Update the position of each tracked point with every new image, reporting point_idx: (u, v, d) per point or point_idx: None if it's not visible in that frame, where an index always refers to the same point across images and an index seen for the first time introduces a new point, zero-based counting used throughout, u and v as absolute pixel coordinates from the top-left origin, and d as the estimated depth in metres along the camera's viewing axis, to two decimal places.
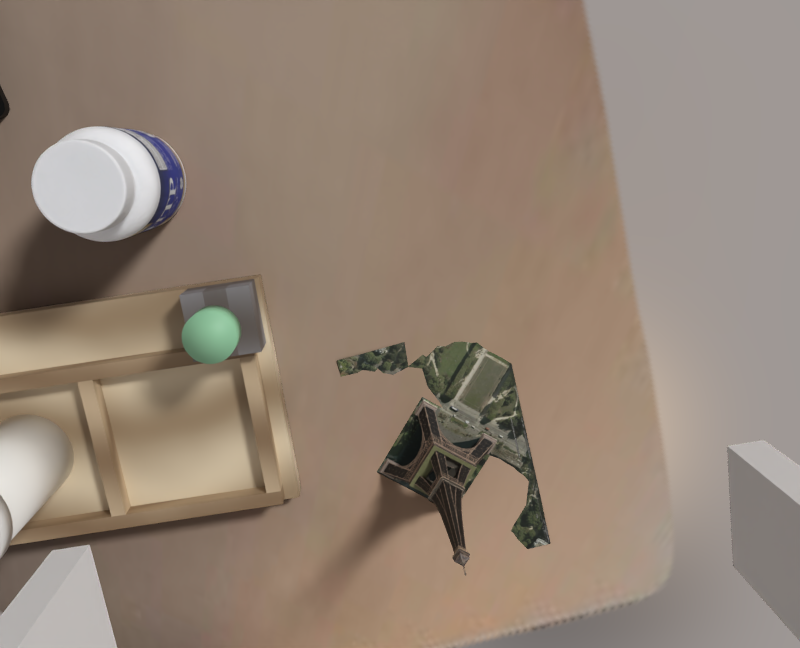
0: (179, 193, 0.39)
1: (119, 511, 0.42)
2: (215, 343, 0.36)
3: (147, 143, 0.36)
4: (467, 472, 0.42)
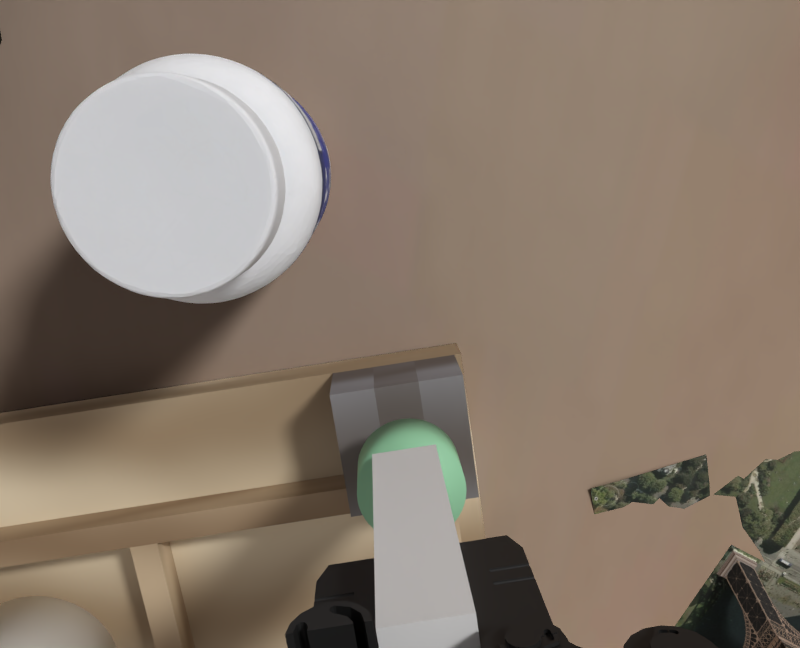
0: (327, 198, 0.20)
1: None
2: None
3: None
4: None
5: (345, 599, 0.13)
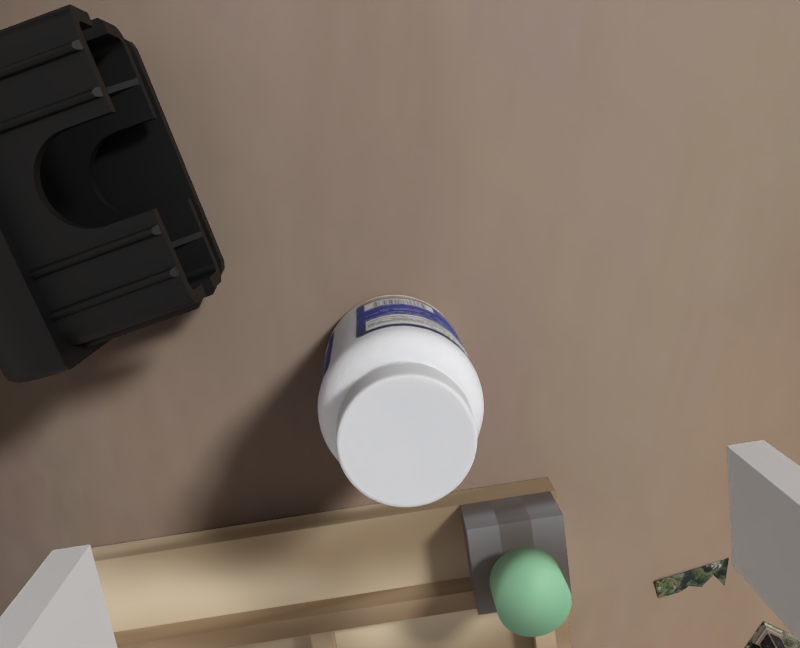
0: None
1: None
2: (542, 610, 0.26)
3: (454, 339, 0.25)
4: None
5: None
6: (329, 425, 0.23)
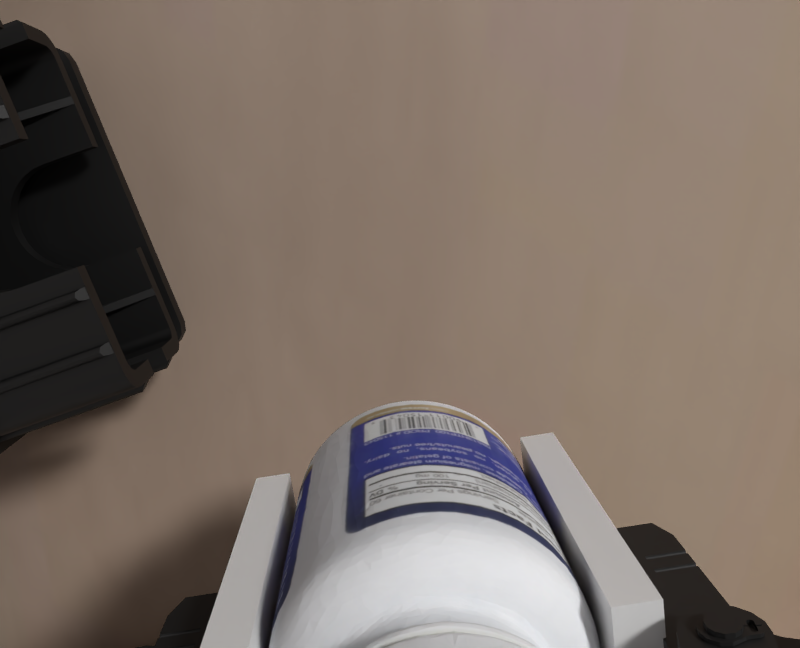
0: None
1: None
2: None
3: (537, 518, 0.13)
4: None
5: (189, 635, 0.13)
6: None
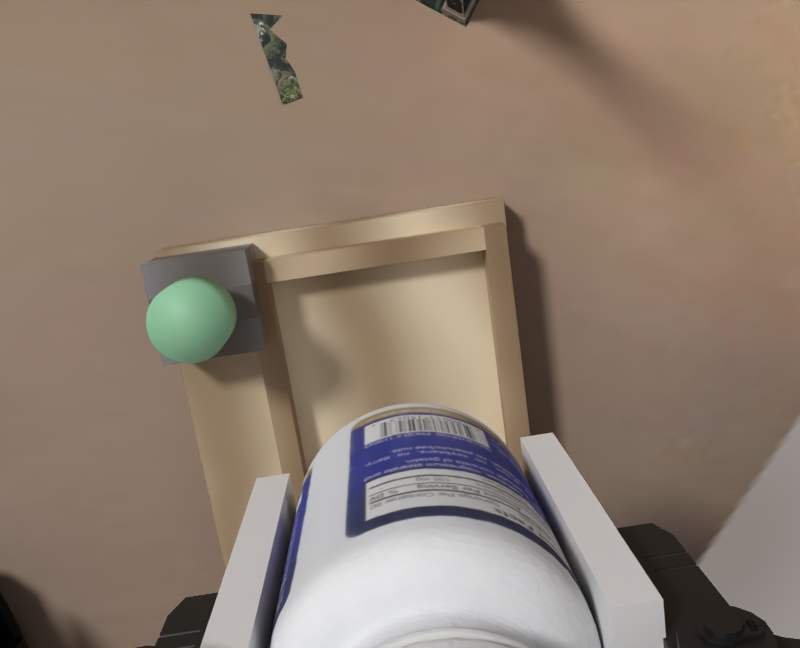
0: None
1: None
2: (195, 314, 0.24)
3: (538, 522, 0.13)
4: None
5: (189, 636, 0.13)
6: None
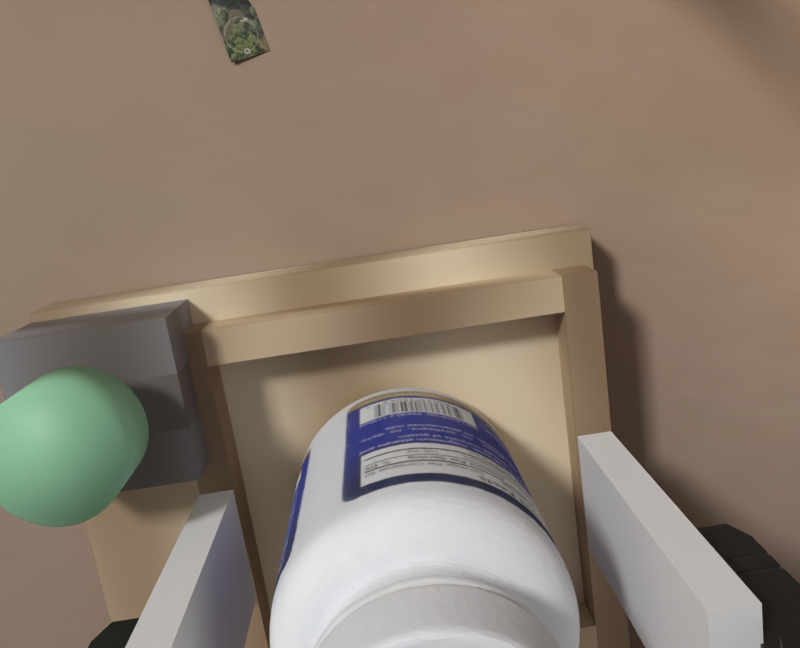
0: None
1: (587, 637, 0.19)
2: (65, 443, 0.13)
3: (520, 491, 0.14)
4: None
5: None
6: None
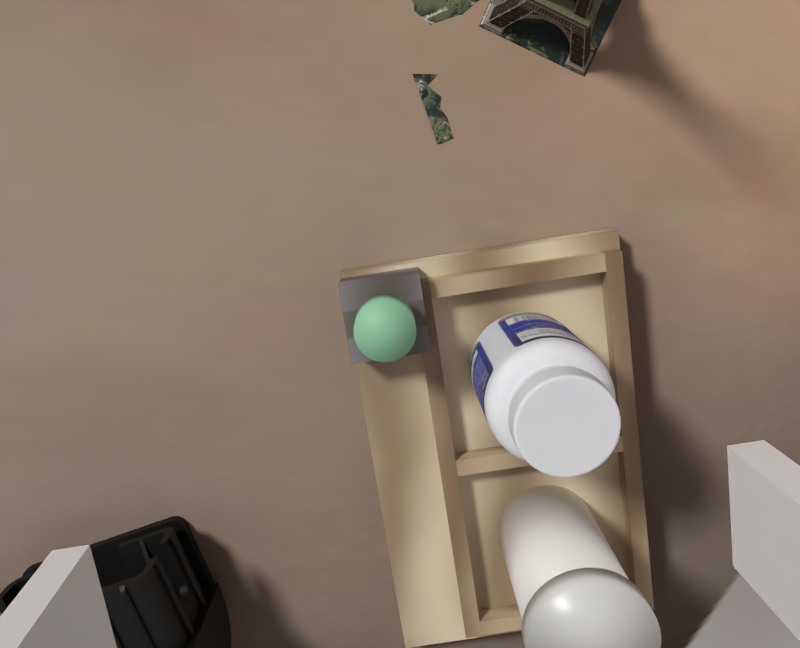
0: None
1: (617, 442, 0.36)
2: (391, 324, 0.31)
3: None
4: None
5: None
6: (496, 415, 0.30)
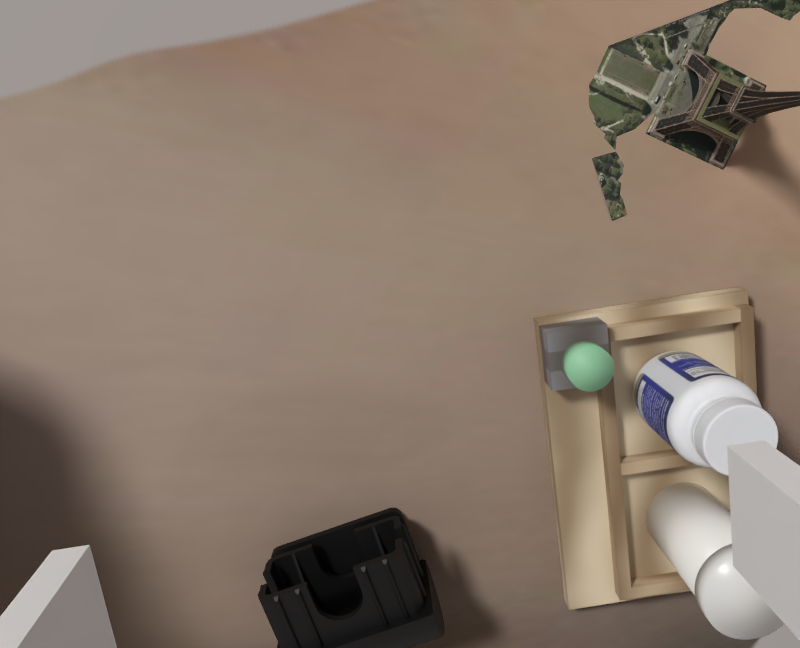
0: None
1: None
2: (596, 364, 0.42)
3: None
4: (725, 82, 0.41)
5: None
6: (679, 431, 0.41)
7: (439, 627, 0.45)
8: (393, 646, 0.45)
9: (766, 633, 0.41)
